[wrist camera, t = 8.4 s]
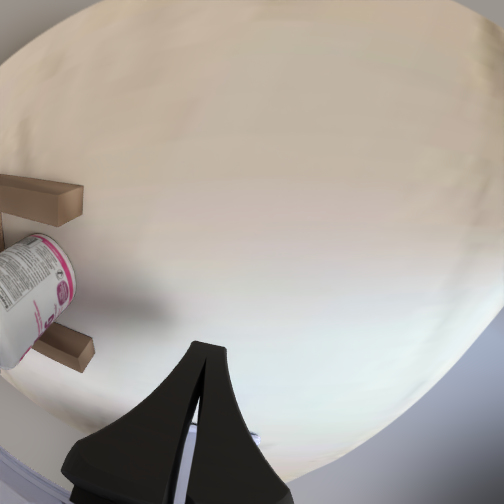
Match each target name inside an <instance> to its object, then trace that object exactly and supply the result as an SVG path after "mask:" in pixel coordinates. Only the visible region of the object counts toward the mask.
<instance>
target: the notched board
mask: <svg viewBox="0 0 504 504" xmlns="http://www.w3.org/2000/svg"><path fill="white" fill-rule="evenodd" d="M82 208H83V186H79V185H72V184H66V183H60V182H53V181H46V180H39V179H32V178H25V177H18V176H10V175H2V174H0V253H1V252H3V251H4V250H5V248H4V240H3V232H2V221H1V212H4V213H8V214H11V215H15V216H19V217H22V218H26V219H30V220H33V221H37V222H41V223H44V224H48V225H52V226H56V227H59V226H61V225H63V224H65V223H67V222H69V221H71V220H72V219H74V218H76V217H78V216H80V215H82ZM31 348H32V349H34V350H36V351H38V352H39V353H41V354H43V355H45V356H47V357H49V358H51V359H53V360H55V361H57V362H59V363H61V364H63V365H65V366H67V367H69V368H72V369H74V370H76V371H78V372H80V373H83V371H84V370H85V368H86V367H87V365H88V363H89V362H90V360H91V359H92V357H93V356H94V354H95V350H94V345H93V340H92V338H91V337H88V336H86V335H83V334H81V333H78V332H76V331H73V330H71V329H68V328H66V327H64V326H61V325H59V324H57V323H55V322H53V323H52V324H51V325H50V326H49V327H48V328H47V330H46V331H45V332H44V333H43V334H42V335H41V336H40V338H39V339H38V340H37V341H36V342H35V344H34V345H33V346H32V347H31Z"/></svg>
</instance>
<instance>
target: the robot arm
mask: <svg viewBox="0 0 504 504" xmlns="http://www.w3.org/2000/svg"><path fill="white" fill-rule="evenodd" d="M199 397H200V399H199ZM198 400H199V410H198V421H197V426H195V425H191V422H192V419H193V416H194V413H195V410H196V406H197V403H198ZM260 440H261V438H260V437H259V436H256V435H251V434H250V432H249V430H248V428H247V426H246V424H245V421H244V419H243V417H242V414H241V412H240V409H239V407H238V404H237V401H236V398H235V395H234V392H233V388H232V384H231V380H230V376H229V371H228V364H227V349H226V348H225V347H222V346H217V345H212V344H208V343H203V342H199V341H193V342H192V343H191V345H190V347H189V349H188V350H187V352H186V353H185V355H184V356H183V358H182V359H181V360H180V362H179V363H178V364H177V366H176V367H175V368H174V369H173V371H172V372H171V373H170V374H169V375H168V377H167V378H166V379H165V380H164V381H163V382H162V383H161V384H160V385H159V386H158V387H157V388H156V389H155V390H154V391H153V392H152V393H151V394H150V395H149V396H148V397H147V398H145V399H144V400H143V401H142V402H141V403H140V404H138V405H137V406H136V407H135V408H133V409H132V410H131V411H129V412H128V413H127V414H125V415H124V416H122V417H121V418H119V419H118V420H116V421H115V422H113V423H111V424H110V425H108V426H106V427H105V428H103V429H101V430H99V431H97V432H95V433H93V434H91V435H89V436H87V437H85V438H83V439H81V440H78V441H77V442H76V443H75V444H74V446H73V447H72V448H71V450H70V451H69V453H68V455H67V456H66V458H65V461H64V463H63V466H62V468H61V472H62V474H63V475H64V476H65V477H66V478H67V479H68V480H70V482H72V483H73V484H74V488H73V490H72V492H70V491H68V490H67V489H65V488H63V487H61V486H59V485H57V484H56V483H54V482H52V481H50V480H49V479H47V478H45V477H44V476H42V475H41V474H39V473H37V472H36V471H34V470H33V469H31V468H30V467H28V466H27V465H25V464H24V463H22V462H21V461H20V460H18V459H17V458H15V457H14V456H13V455H11V454H10V453H9V452H7V451H6V450H5V449H4V448H2V447H1V446H0V504H294V501H293V498H292V495H291V492H290V489H289V488H288V487H287V486H286V485H285V483H284V482H283V481H282V480H281V479H280V478H279V476H278V475H277V474H276V473H275V471H274V470H273V469H272V467H271V466H270V465H269V463H268V462H267V460H266V459H265V457H264V456H263V454H262V453H261V451H260V449H259V448H258V445H259V443H260Z"/></svg>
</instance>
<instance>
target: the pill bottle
mask: <svg viewBox="0 0 504 504" xmlns="http://www.w3.org/2000/svg"><path fill="white" fill-rule="evenodd" d="M75 290H76V280H75V275H74V271H73V268H72V265H71V263H70V261H69V259H68V257H67V256H66V254H65V253H64V251H63V250H62V249H61V248H60V246H59V245H58V244H57V243H56V242H55V241H54V240H52V239H51V238H49V237H48V236H46V235H43V234H33V235H30V236H28V237H26V238H24V239H22V240H21V241H19V242H17V243H16V244H14V245H12V246H11V247H9V248H7V249H6V250H4V251H3V252H1V253H0V368H2V369H5V370H9V369H12V368H14V367H15V366H16V365H17V364H18V363H19V362H20V361H21V359H22V358H23V357H24V356H25V355H26V353H27V352H28V351H29V350H30V348H31V347H32V346H33V345H34V344H35V342H36V341H37V340H38V339H39V338H40V336H41V335H42V334H43V333H44V332H45V331H46V330H47V328H48V327H49V326H50V325H51V324H52V323H53V322H54V320H55V319H56V318H57V317H58V316H59V315H60V314H61V313H62V312H63V311H64V309H65V308H67V306H68V305H69V304H70V303H71V301H72V300H73V298H74V295H75ZM0 372H1V369H0Z"/></svg>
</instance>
